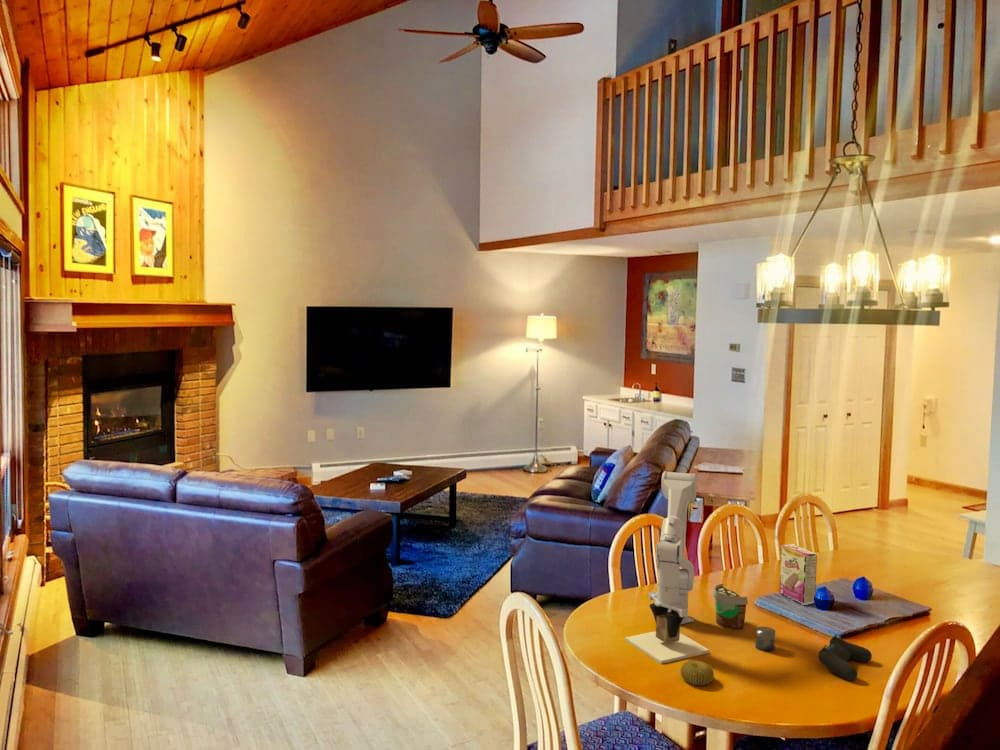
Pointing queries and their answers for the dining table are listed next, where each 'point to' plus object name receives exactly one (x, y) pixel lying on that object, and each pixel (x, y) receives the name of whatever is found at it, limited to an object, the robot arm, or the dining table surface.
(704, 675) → the olive ribbed round piece
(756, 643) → the charcoal metal cylinder
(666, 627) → the walnut block
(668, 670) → the dining table surface
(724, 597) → the food container
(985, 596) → the dining table surface
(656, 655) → the cream mat
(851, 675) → the gaming controller
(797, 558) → the candy bar box
